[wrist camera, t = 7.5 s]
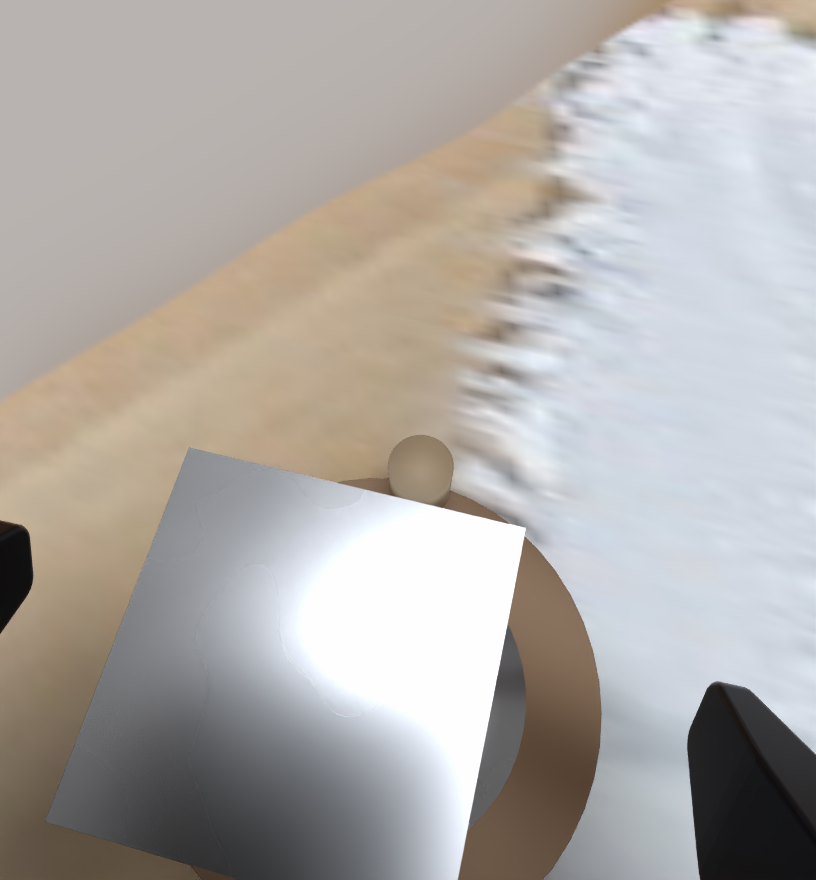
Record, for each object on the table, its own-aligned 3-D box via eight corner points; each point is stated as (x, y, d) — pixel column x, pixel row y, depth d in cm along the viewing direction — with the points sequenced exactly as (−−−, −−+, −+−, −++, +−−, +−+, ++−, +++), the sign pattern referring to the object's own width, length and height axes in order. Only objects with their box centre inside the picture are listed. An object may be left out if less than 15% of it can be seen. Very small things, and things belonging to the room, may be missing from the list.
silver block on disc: (486, 894, 16) (676, 1384, 4) (190, 808, 16) (-315, 1041, 5) (541, 586, 18) (757, 386, 7) (282, 522, 19) (83, 242, 7)
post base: (554, 1033, 16) (587, 1110, 13) (91, 908, 16) (20, 953, 14) (614, 514, 20) (650, 480, 17) (244, 437, 21) (215, 393, 18)
